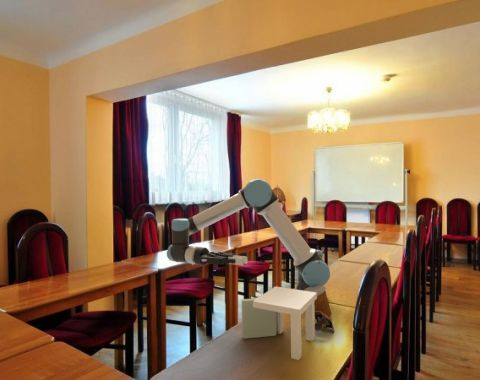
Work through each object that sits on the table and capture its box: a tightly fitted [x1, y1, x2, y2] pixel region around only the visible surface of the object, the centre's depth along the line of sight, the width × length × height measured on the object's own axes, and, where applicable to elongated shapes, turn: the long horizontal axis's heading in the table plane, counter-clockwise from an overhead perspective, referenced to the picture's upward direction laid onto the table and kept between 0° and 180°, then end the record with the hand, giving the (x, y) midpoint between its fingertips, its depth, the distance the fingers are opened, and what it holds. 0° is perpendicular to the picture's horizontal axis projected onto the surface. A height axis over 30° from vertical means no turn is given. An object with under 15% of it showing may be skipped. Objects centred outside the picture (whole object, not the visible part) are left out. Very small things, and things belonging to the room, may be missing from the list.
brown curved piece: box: [314, 310, 335, 334], centre depth 121 cm, size 12×10×8 cm
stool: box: [253, 286, 317, 361], centre depth 110 cm, size 18×16×16 cm
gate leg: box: [241, 297, 279, 340], centre depth 116 cm, size 13×2×13 cm, turn 100°
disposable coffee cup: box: [304, 284, 333, 318], centre depth 133 cm, size 10×10×12 cm
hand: (244, 261), depth 130 cm, fingers open, 3 cm apart
